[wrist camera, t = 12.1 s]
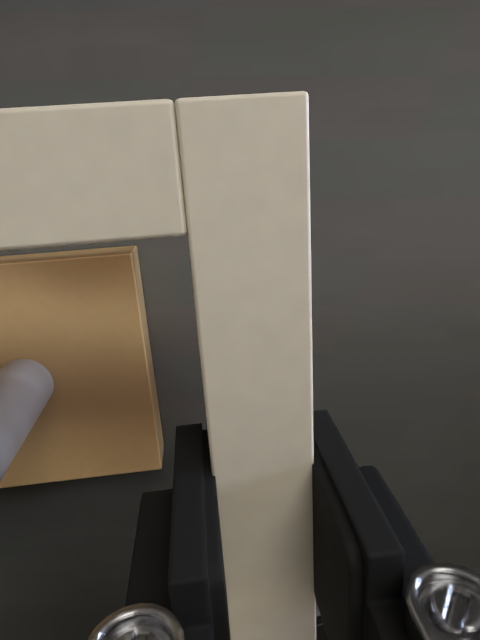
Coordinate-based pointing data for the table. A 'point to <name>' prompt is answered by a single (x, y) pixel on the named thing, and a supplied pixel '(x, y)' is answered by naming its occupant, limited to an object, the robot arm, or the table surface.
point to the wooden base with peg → (75, 368)
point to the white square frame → (206, 294)
